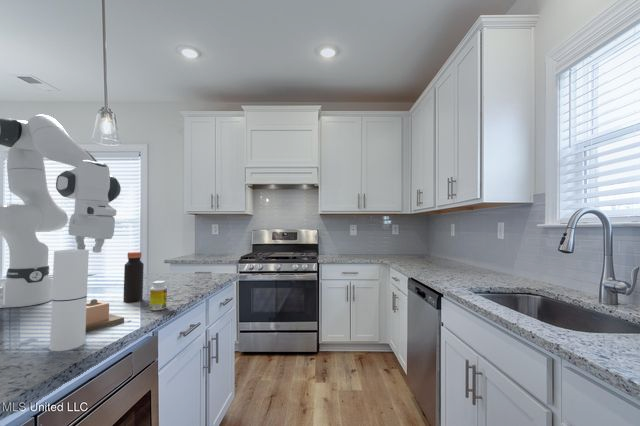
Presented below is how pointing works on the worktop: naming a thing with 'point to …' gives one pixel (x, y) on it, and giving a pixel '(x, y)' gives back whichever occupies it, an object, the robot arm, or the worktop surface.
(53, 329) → the cylindrical container
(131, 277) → the vinegar
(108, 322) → the pin stand
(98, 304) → the light brown block
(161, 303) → the supplement bottle
